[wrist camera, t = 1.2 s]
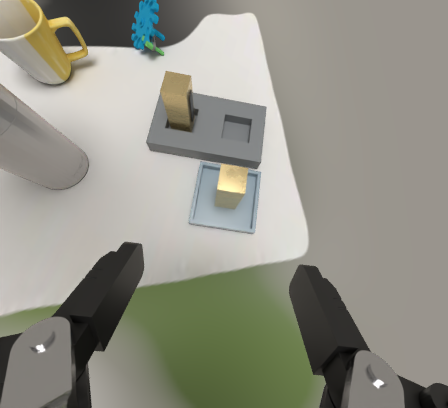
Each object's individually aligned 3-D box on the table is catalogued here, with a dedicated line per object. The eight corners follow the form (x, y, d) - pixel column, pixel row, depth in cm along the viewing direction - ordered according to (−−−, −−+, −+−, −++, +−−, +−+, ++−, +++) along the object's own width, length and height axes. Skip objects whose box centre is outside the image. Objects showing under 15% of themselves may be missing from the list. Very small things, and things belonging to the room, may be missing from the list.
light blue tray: (189, 223, 35) (188, 222, 33) (200, 165, 38) (200, 161, 36) (252, 233, 36) (255, 232, 34) (258, 175, 39) (261, 171, 37)
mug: (28, 96, 39) (-34, 41, 29) (30, 57, 41) (-28, -7, 31) (99, 90, 41) (64, 36, 30) (97, 53, 43) (63, -8, 33)
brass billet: (214, 206, 36) (217, 189, 26) (217, 186, 37) (221, 163, 27) (236, 209, 36) (246, 194, 26) (238, 190, 37) (250, 168, 27)
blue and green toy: (127, 17, 44) (149, -22, 38) (150, 34, 49) (174, 3, 43) (131, 60, 43) (155, 28, 37) (155, 74, 48) (179, 47, 42)
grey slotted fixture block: (150, 150, 38) (146, 142, 35) (165, 98, 41) (161, 86, 39) (256, 168, 39) (260, 162, 36) (262, 116, 43) (266, 106, 40)
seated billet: (171, 131, 38) (160, 91, 29) (175, 115, 40) (165, 70, 30) (192, 135, 39) (187, 96, 29) (196, 118, 40) (192, 76, 30)
